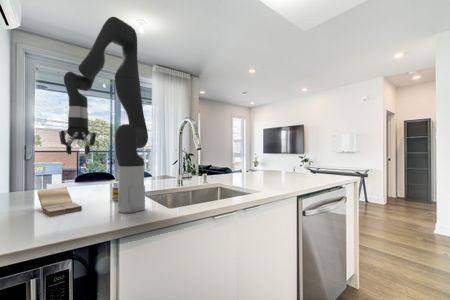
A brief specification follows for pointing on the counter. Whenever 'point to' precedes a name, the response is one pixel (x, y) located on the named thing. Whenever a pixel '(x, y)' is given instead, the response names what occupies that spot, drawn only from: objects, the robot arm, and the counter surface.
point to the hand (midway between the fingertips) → (78, 154)
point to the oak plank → (53, 196)
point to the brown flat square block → (61, 208)
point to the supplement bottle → (115, 191)
